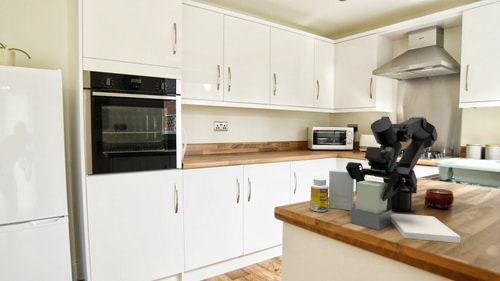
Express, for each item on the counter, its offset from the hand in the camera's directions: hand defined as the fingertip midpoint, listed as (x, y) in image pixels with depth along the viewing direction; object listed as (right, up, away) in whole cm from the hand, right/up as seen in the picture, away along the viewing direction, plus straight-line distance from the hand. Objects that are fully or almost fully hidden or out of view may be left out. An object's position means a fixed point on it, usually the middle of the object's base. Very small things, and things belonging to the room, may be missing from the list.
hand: (369, 197), depth 80 cm
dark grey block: (+1, -7, +1) cm, 8 cm away
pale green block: (+1, -3, +1) cm, 4 cm away
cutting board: (+12, -8, -3) cm, 15 cm away
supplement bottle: (-11, -7, +14) cm, 19 cm away
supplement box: (-2, -7, +18) cm, 19 cm away
